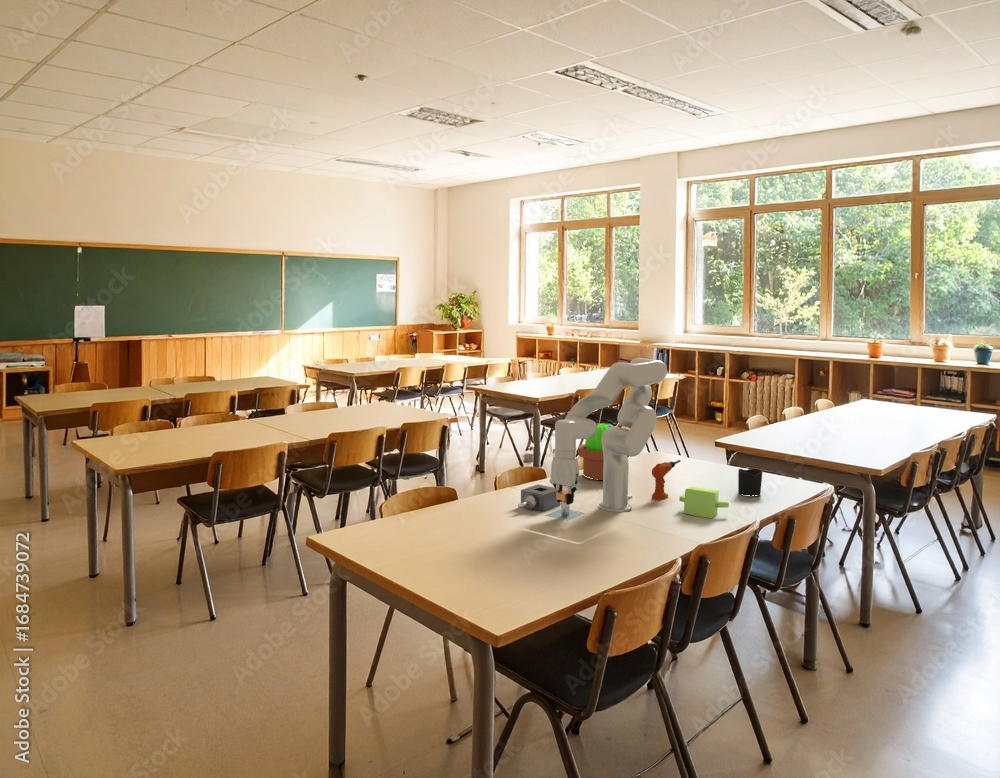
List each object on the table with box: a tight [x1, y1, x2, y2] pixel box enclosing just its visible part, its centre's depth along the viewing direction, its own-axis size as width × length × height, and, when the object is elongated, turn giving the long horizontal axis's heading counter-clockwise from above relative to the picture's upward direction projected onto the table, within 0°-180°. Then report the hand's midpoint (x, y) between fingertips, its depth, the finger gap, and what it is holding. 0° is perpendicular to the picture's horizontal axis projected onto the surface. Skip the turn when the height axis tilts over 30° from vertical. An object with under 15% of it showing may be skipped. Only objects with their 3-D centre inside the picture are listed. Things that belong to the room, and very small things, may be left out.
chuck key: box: [556, 488, 570, 516], centre depth 271 cm, size 6×4×9 cm, turn 141°
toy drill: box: [651, 459, 682, 501], centre depth 302 cm, size 5×19×15 cm, turn 132°
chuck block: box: [517, 483, 561, 513], centre depth 282 cm, size 19×11×7 cm, turn 141°
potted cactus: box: [577, 422, 629, 480], centre depth 332 cm, size 22×22×25 cm
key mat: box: [545, 508, 586, 521], centre depth 275 cm, size 12×10×1 cm
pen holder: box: [737, 468, 763, 496], centre depth 305 cm, size 9×9×10 cm
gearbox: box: [679, 485, 730, 519], centre depth 278 cm, size 18×10×10 cm, turn 59°
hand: (565, 502), depth 271 cm, fingers closed on chuck key, 3 cm apart
